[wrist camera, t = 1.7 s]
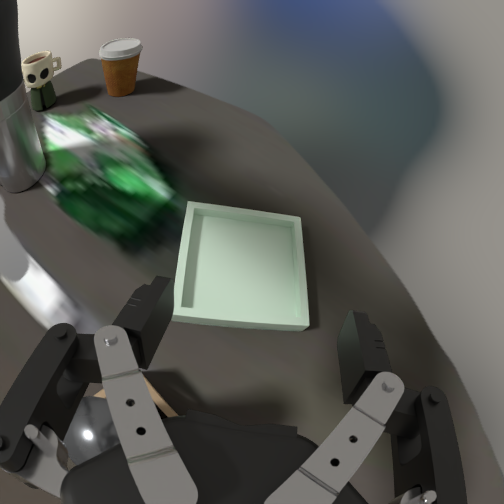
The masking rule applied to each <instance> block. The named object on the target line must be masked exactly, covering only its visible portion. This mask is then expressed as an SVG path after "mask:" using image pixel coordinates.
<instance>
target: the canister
mask: <svg viewBox="0 0 504 504" xmlns="http://www.w3.org/2000/svg"><path fill="white" fill-rule="evenodd" d="M63 443H64V444H65V446H66V447H67V450H68V456H69V458H70V459H71V460H72V461H73V462H74V463H75V464H76V465H79V464H81V463H83V462H85V461H87V460H89V459H91V458H93V457H95V456H97V455H99V454H101V453H102V452H104V451H106V450H108V449H110V448H112V447H114V446H115V445H117V444H119V443H121V442H120V440H119V437H118V434H117V431H116V428H115V425H114V422H113V418H112V415H111V412H110V409H109V405H108V402H107V399H105V398H101V397H95V396H88V397H83V398H82V400H81V402H80V404H79V406H78V408H77V411H76V413H75V415H74V417H73V420H72V422H71V424H70V426H69V429H68V431H67V433H66V436H65V438H64V440H63Z"/></svg>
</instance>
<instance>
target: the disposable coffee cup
mask: <svg viewBox="0 0 504 504" xmlns="http://www.w3.org/2000/svg"><path fill="white" fill-rule="evenodd" d="M142 48H143V47H142V45H141V42H140V41H139V40H138V39H133V38H122V39H116V40H112V41H109V42H107V43H105V44H103V45H102V46H101V48H100V51H99V56H100V58H101V61H102V66H103V71H104V76H105V81H106V86H107V90H108V94H109V95H111V96H115V97H120V96H125V95H128V94H130V93H132V92H133V91H134V89H135V81H136V75H137V68H138V61H139V56H140V52H141V50H142Z"/></svg>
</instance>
